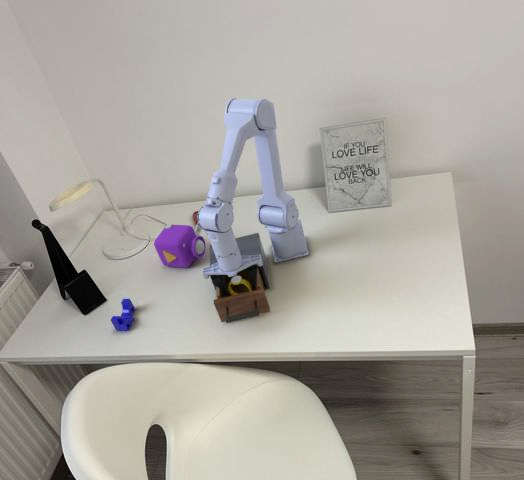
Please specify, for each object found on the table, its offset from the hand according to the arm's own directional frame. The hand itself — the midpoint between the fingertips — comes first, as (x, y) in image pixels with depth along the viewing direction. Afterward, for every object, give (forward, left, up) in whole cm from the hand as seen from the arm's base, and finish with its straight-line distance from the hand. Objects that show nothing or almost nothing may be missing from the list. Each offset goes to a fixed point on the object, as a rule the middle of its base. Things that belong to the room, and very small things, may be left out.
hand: (241, 292), depth 137 cm
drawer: (0, +2, -3) cm, 4 cm away
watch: (0, 0, -2) cm, 2 cm away
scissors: (+13, -41, -4) cm, 44 cm away
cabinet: (0, -10, -4) cm, 11 cm away
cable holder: (+32, -4, -4) cm, 33 cm away
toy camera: (+16, -25, -4) cm, 30 cm away
